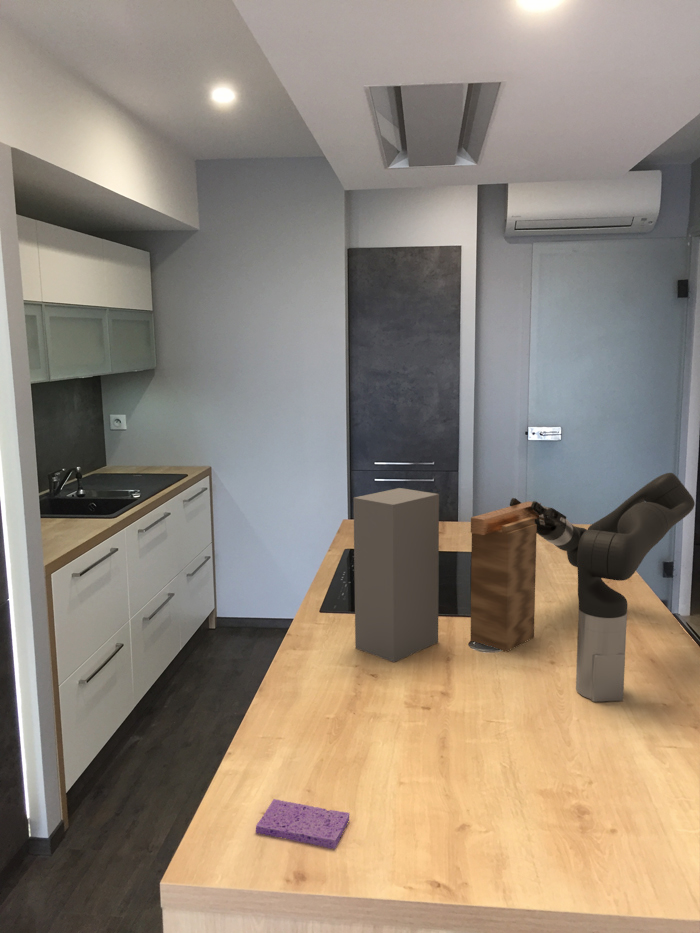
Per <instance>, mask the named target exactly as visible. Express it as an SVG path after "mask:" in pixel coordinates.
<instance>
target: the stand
mask: <svg viewBox="0 0 700 933" xmlns="http://www.w3.org/2000/svg"><path fill="white" fill-rule="evenodd" d="M439 520H440V493H434V492H428V491H422V490H421V491H420V490H416V489H415V490H414V489H408V488H401V487H398V488H397V487H396V488H394V489H388V490H385V491H379V492H374V493H369V494H365V495H360V496H354V497H353V560H354V563H353V564H354V565H353V566H354V569H353V570H354V571H353V573H354V577H353V578H354V632H355V634H354V637H355V638H354V640H355V642H354V644H355V649H357V650H360V651H362V652H365V653H368V654H370V655H372V656H375V657H378V658H381V659H384V660H387V661H389V662H392V663H396V662H398V661H401V660H402V659H404V658H407V657H409V656H411V655H413V654H416V653H418V652H420V651H422V650H424V649H426V648H430V647H431V646H433V645H436V644H437V643H439V589H440V588H439V583H440V580H439V579H440V578H439V577H440V576H439V571H440V570H439V568H440V567H439V566H440V565H439V562H440V560H439V558H440V557H439V553H440V552H439V550H440V549H439V548H440V542H439V541H440V537H439V536H440V534H439V533H440V530H439V529H440V528H439V527H440V521H439Z"/></svg>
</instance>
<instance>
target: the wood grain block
mask: <svg viewBox="0 0 700 933" xmlns="http://www.w3.org/2000/svg"><path fill="white" fill-rule="evenodd" d="M537 537H538V536H537V524H535V518H533V517H529V518H526V519H522V520H519V521H516V522H513V523H509V524H506V525H503V526H502V529H501V530H498V531H495V532H492V533H489V534H485V535H481V534H476V533H471V557H470V558H471V560H470V561H471V562H470V563H471V567H470V568H471V571H470V572H471V573H470V574H471V575H470V576H471V577H470V642H473V641H474V643H476V642H477V644H479V643H481V644H480V645H482V644H485V645H484V646H486V645H488V646H487V647H489V646H492V647H495V648H498V649H501V650H500V651H502V650H503V651H502V652H505V651H507V652H509V651H511V650H513V649H515V648H517V647H518V645H519V646H520V644H521V645H522V644H524V643H526V642H528V641H530V640H532V639H533V637H534V638H535V613H536V610H535V609H536V608H535V606H536V575H537V574H536V573H537V572H536V571H537V570H536V569H537V568H536V567H537ZM531 638H532V639H531ZM529 639H530V640H529ZM527 640H528V641H527ZM525 641H526V642H525ZM516 646H517V647H516ZM492 647H491V648H492ZM514 647H515V648H514ZM495 648H494V649H495ZM498 649H497V650H498ZM510 649H511V650H510ZM508 650H509V651H508Z"/></svg>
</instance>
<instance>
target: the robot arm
mask: <svg viewBox="0 0 700 933" xmlns="http://www.w3.org/2000/svg"><path fill="white" fill-rule="evenodd" d="M531 502H532V505H531V510H532V511H534V512H535V513H536V514H538V515H539V517H540V518H536V519H535V524H537V534H538V536H540V537H541V538H543V539H544V540H546V541H547V542H548V543H550V544H553V545H554V546H555V547H557V549H560V550H561V551H563V552H566V555H567V556H566V557H567V561H568V562H569V564H570V565H571V566H573V567H574V568H577V598H578V618H577V620H578V621H577V638H576V639H577V641H576V642H577V645H576V647H577V648H576V676H575V678H576V679H575V690H576V692H577V694H579V695H581V696H583V697H584V698H587V699H590V700H591V702H595V703H596V702H615V701H616V702H617V701H618V702H619V701H624V688H625V670H626V669H625V668H626V667H625V665H626V645H627V643H626V641H627V626H628V625H627V620H628V600H627V598H626V597H625V596H624V595H623V594H622V593H620V592H618V591H617V590H615V589H614V588H612V587H610V586H609V585H608V584H607V583H605V582H604V581H603V579H605V580H612V581H618V582H619V581H620V582H621V581H627V580H628V579H630V578H632V576H633V575H634V574H635V572H636V571H637V569H638V568H639V567H640V565H641V564H642V562H643V561H644V559H645V557H646V556H647V554H648V553H649V552H650V551H651V550H652V549H653V547H655V546H656V545H658V543H659V542H661V540H662V539H663V538H664V537H665V536H666V535H667V533H668V532H669V531H670V530H671V529H672V528H673V527H674V526H676V524H678V523H679V522H681V521H682V520H683V519H685V518H686V517H687V516H688V515H689V514H690V513H691V512H692V511H693V510H694V508H695V505H696V504H695V500H694V497H693V496H692V495H691V493H690V492H689V490H688V489H687V488H686V486H685V485H684V484H683V483H682V481H681V480H680V478H679V477H678V476H677V475H676V474H674V473H672V472H666V473H664V474H661V475H659V476H657V477H655V478H653V480H651V481H649V482H648V483H646V484H645V485H644V486H642V487H641V488H639V489H638V490H637V491H636V492H635V493H633V494H632V495H631V496H629V497H628V498H627V499H626V500H625V501H623V502H622V503H621V504H620V505H619V506H617V507H616V508H615V509H614V510H613V511H611V512H609V514H607V515H606V516H605V515H604V517H602V518H600V519H598V520H597V521H595V522H594V523H592V524H590V525H589V526H588V528H585V527H581V526H580V527H579V526H575V525H573V524H572V523H571V522H570V521H569V520H568V519H567V516H566V515H565V514H564V513H561V512H559V511H558V510H556V509H554V508H553V507H549V506H548V507H547V506H545V505H542V504H541V505H540V504H539V503H540V502H538V501H536V500H532V501H531ZM521 503H522V502H521V501H519V500H518V499H517V498H516V497H515V498H514V497H512V498H511V499H510V502H509V507H510V506H514V505H517V504H521Z"/></svg>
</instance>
